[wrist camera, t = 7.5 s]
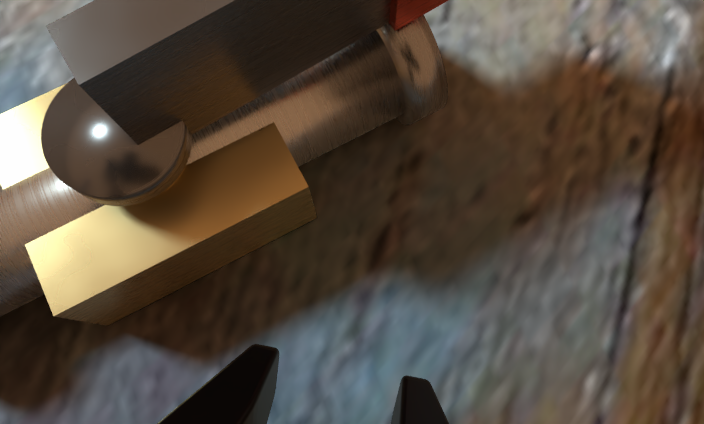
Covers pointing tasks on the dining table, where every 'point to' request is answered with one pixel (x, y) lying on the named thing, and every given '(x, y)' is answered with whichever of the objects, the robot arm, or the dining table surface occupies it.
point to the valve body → (200, 183)
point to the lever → (181, 78)
